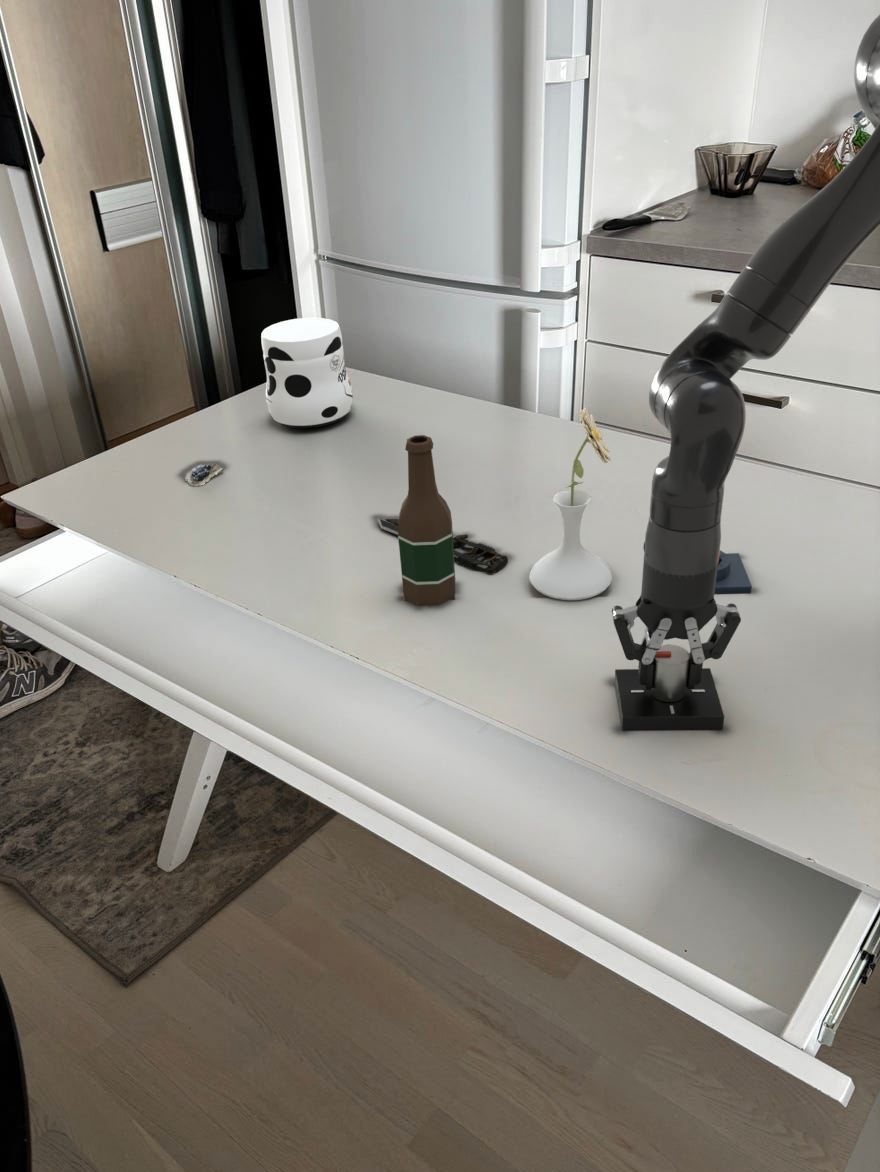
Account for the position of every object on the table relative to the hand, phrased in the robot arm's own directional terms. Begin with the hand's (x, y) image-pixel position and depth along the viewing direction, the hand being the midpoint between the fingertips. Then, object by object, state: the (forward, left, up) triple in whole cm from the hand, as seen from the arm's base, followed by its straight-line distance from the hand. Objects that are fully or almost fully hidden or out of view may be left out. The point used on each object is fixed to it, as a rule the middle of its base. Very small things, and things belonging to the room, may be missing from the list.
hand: (668, 684), depth 111 cm
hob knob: (0, 0, -1) cm, 1 cm away
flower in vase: (+9, -29, -4) cm, 31 cm away
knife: (+29, -41, -4) cm, 50 cm away
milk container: (+57, -95, -4) cm, 111 cm away
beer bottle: (+29, -26, -4) cm, 39 cm away
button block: (-9, -29, -4) cm, 31 cm away
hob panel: (0, 0, -4) cm, 4 cm away
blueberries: (+73, -69, -4) cm, 101 cm away
